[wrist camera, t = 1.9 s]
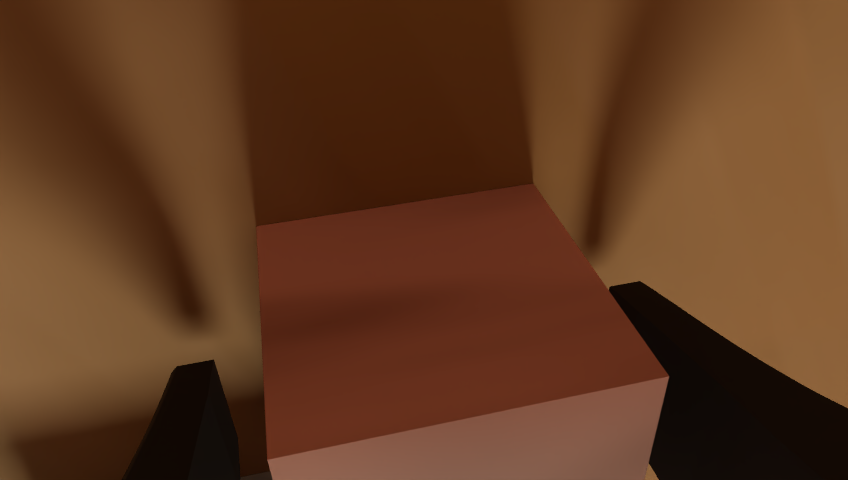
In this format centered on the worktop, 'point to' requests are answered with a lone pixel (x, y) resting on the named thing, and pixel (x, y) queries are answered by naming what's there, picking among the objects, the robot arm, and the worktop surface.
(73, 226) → the worktop surface
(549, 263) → the red cube
